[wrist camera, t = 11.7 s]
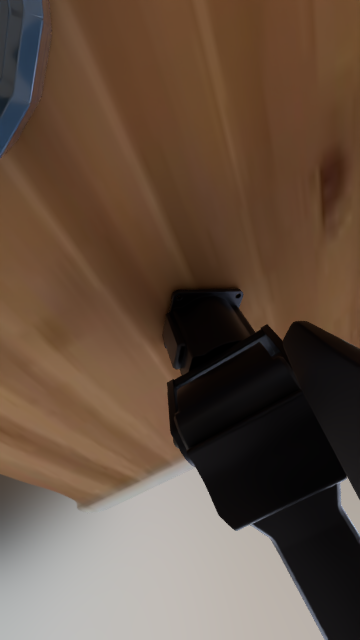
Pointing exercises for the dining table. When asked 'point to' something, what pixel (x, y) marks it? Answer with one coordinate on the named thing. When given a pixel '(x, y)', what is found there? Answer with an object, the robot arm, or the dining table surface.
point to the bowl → (21, 64)
